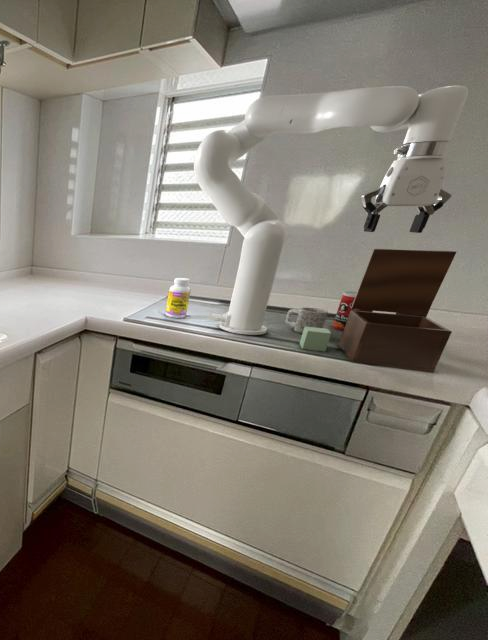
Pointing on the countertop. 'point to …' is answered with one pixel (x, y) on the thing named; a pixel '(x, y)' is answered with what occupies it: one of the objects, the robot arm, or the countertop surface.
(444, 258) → the lid
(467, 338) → the countertop surface
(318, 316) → the mug
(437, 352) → the chest
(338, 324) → the canned food
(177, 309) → the supplement bottle
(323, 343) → the block
